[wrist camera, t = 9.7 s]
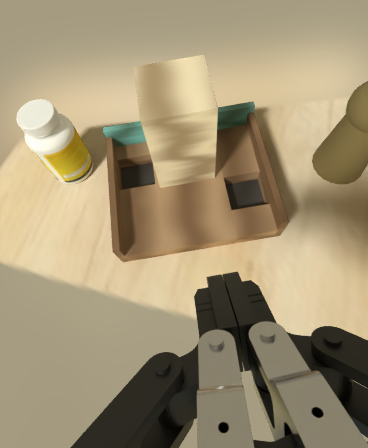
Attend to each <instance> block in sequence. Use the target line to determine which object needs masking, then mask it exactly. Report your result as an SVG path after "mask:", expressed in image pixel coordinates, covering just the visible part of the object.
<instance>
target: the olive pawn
mask: <svg viewBox="0 0 368 448" xmlns="http://www.w3.org/2000/svg"><path fill="white" fill-rule="evenodd" d="M312 162H313V166H314V169H315V170H316V172H317V174H318V175H320V176H321V177H322V178H323V179H325V180H327V181H329V182H331V183H336V184H348V183H351V182H354V181H355V180H357V179H358V178H359V177H360V176H361V174H362V173H363V171H364V169H365V168H366V166H367V164H368V81H367V82H365V83H364V84H362V85H361V86H359V87H358V88H357V89H356V90H355V91H354V92H353V94H352V95H351V97H350V99H349V101H348V103H347V109H346V115H345V116H344V117H343V118H342V120H341V121H340V122H339V123H338V124H337V126H336V127H335V128H334V129H333V131H332V132H331V133H330V134H329V135H328V137H327V138H326V139H325V140H324V141H323V143H322V144H321V145H320V146H319V147H318V149H317V150H316V152H315V153H314V155H313V160H312Z"/></svg>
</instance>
